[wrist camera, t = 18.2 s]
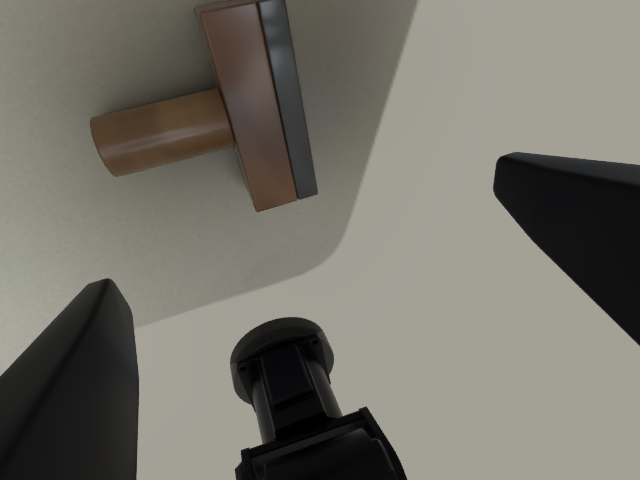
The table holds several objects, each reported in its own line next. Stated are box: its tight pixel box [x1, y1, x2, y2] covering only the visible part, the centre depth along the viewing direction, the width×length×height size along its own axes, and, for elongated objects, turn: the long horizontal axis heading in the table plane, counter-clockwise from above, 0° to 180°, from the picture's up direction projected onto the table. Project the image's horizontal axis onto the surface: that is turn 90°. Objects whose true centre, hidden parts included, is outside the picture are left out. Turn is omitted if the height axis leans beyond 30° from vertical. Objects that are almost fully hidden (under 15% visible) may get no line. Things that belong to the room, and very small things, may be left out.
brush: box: [90, 0, 318, 212], centre depth 16 cm, size 8×3×8 cm
